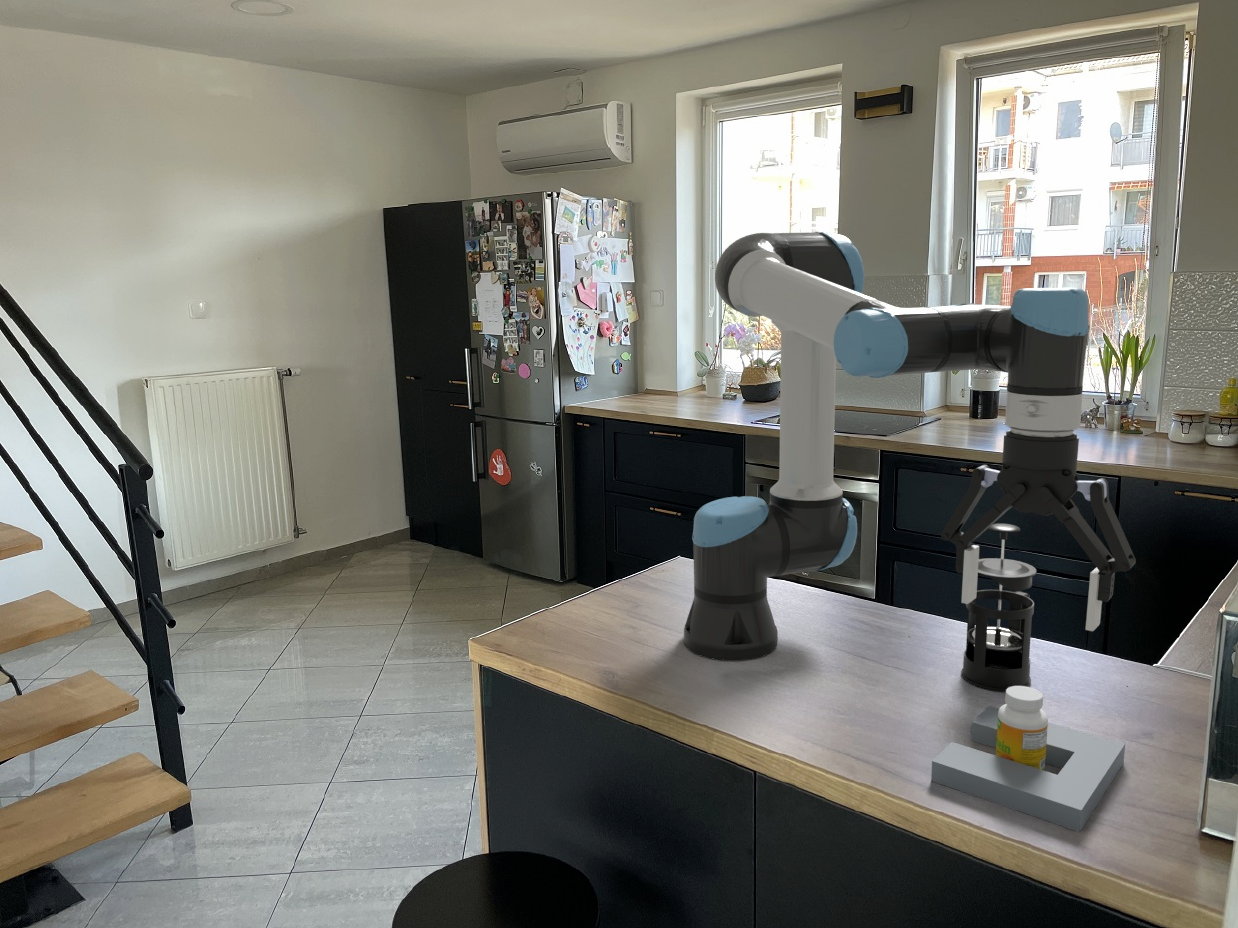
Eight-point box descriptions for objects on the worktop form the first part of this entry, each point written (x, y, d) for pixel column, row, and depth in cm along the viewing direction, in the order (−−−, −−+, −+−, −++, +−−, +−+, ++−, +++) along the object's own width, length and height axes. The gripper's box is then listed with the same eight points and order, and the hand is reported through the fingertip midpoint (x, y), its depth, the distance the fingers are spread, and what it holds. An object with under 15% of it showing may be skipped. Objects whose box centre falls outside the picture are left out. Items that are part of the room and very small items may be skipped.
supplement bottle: (986, 758, 110) (990, 684, 108) (1029, 756, 111) (1034, 681, 109) (1008, 782, 105) (1013, 704, 103) (1053, 779, 105) (1059, 701, 104)
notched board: (931, 780, 106) (932, 760, 105) (987, 723, 119) (988, 705, 118) (1079, 831, 95) (1081, 810, 95) (1123, 762, 109) (1125, 743, 108)
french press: (1004, 699, 125) (1014, 539, 121) (945, 677, 133) (951, 525, 129) (1050, 677, 132) (1060, 523, 128) (991, 657, 140) (999, 511, 135)
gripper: (917, 425, 105) (910, 598, 110) (1162, 447, 89) (1142, 650, 93) (943, 416, 111) (935, 582, 115) (1179, 436, 95) (1159, 628, 99)
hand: (1028, 613), depth 104 cm, fingers open, 13 cm apart
